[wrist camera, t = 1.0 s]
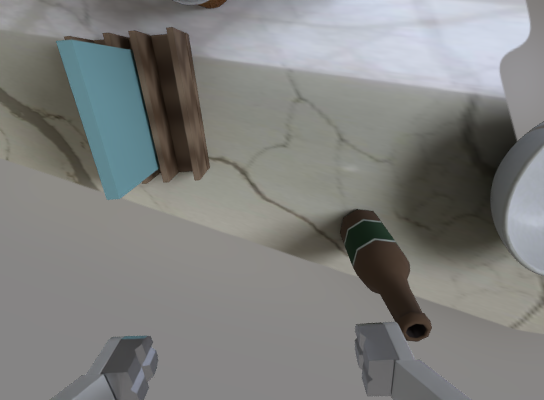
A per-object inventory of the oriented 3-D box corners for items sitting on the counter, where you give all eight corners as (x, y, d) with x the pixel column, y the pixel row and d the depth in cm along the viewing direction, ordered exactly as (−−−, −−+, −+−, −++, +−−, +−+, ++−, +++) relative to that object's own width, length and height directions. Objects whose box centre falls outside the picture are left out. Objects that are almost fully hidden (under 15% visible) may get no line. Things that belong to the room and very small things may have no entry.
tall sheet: (134, 53, 42) (55, 40, 27) (144, 52, 41) (71, 39, 27) (159, 161, 48) (107, 199, 33) (168, 160, 48) (119, 198, 33)
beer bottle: (342, 248, 55) (385, 362, 33) (335, 213, 53) (375, 312, 30) (384, 239, 54) (455, 350, 32) (378, 202, 52) (452, 297, 29)
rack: (94, 42, 42) (64, 36, 36) (188, 34, 42) (173, 27, 36) (130, 172, 50) (110, 185, 44) (209, 167, 50) (200, 180, 44)
